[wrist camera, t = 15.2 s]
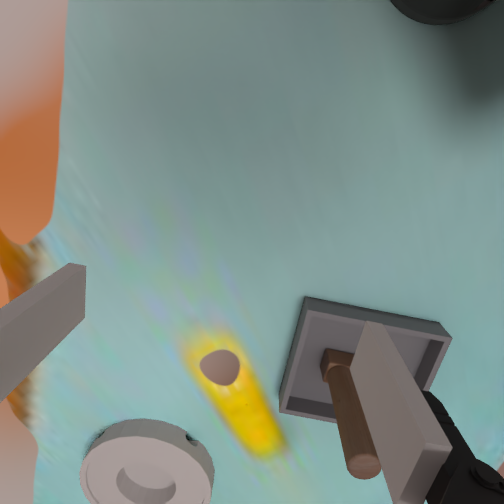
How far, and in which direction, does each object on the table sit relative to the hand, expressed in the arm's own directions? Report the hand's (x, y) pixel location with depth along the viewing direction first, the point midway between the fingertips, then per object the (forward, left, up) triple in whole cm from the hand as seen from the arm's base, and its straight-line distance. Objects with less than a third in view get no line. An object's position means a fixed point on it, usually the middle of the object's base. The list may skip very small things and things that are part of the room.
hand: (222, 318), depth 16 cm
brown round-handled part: (+22, +20, -31) cm, 43 cm away
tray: (+22, +20, -32) cm, 43 cm away
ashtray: (+53, -9, -32) cm, 63 cm away
